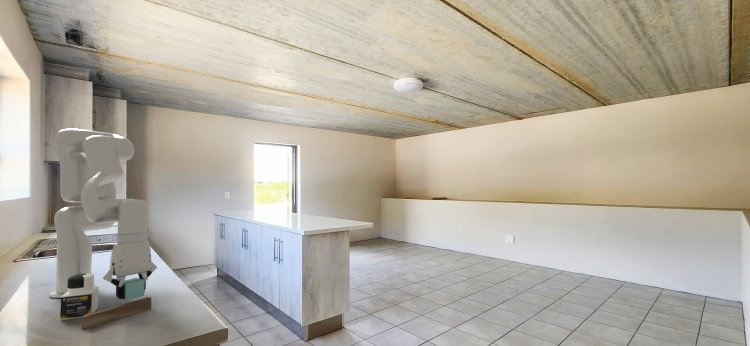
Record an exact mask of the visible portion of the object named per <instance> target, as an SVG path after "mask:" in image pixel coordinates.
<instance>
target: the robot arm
mask: <svg viewBox="0 0 750 346" xmlns="http://www.w3.org/2000/svg"><path fill="white" fill-rule="evenodd" d="M54 150H55V154H56V156H57V159H58V161H59V162H58V163H59V168H60V169H59V170H60V172H59V173H60V174H59V176H60V177H59V179H60V180H59V181H60V182H59V187H60V188H59V189H60V190H59V191H60V197H61V199H62V201H64V202H68V203H81V205H73V206H65V207H63V208H60V209H59V210H57V211H56V212H55V214H54V216H53V218H54V220H53V221H54V228H55V233H56V264H55V266H56V269H55V289H53V290H52V291H50V292H49V295H48V296H49V297H50V298H54V299H59V298H60V299H61V296H62V295H64V294H65V293H66V292H68V291H67V283H68V278H69V277H71V276H74V275H77V274H84V273H90V274H92V261H93V259H92V258H93V257H92V256H93V243H92V240H91V238H90V237H89V236H88V235H86V233H85V232H87V231H88V232H89V231H96V230H98V231H99V230H105V229H106V230H107V229H109V228H112V227H113V226H114V225H115V223H117V240H116V241H117V243H115V244H113V248H112V251H111V254H110V255H111V256H110V261H109V270H107V272H106V273H105V274H104V275H103V277H102V279H103V280H104V281H107V282H108V283H111V284H112V285H114V286H115V297H116V299H119V300H123V299H124V298H125V286H123V284H124V281H125V280H126V277H127V276H133V275H137V276H138V278H139V279H143V280H145V281H144V294H145V293H146V289H147V288H146V287H147V286H146V285H147V281H148V279H149V277H150V276H151V275H152V274H153V273H154V272H155V271H156V270H157V269H158V266H157V265H156V264H155V263H154V261H152V251H151V245H150V241H149V240H148V238H149V237H151V236H152V234H151V232H148V203H147V200H144V199H135V198H117V191H116V186H115V185H116V184H115V183H114V182H115V181H117V180H119V179H120V178H121V177H122V176H124V169H123V166H122V164H121V161H130V160H131V159H132V158H133V157H134V155H135V146H134V144H133V142H132V141H131V140H130V139H129V138H127V137H124V136H120V135H118V134H116V133H112V132H111V133H110V132H102V131H97V130H89V129H82V128H81V129H79V128H66V129H65V128H64V129H61V130H59V131H57V133H56V135H55V137H54ZM83 153H84V154H83ZM84 155H85V156H84ZM115 276H116V277H115ZM113 277H115V278H113ZM96 286H97V285H96V284H94V286H93V287H96Z"/></svg>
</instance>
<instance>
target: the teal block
mask: <svg viewBox="0 0 750 346" xmlns="http://www.w3.org/2000/svg"><path fill="white" fill-rule="evenodd" d="M144 281H145V280H143V279H139V277H134V278H128V279H125V281H124V284H123V286H125V298H124V299H122V300H124V301H130V300H133V299H137V298H140V297H145V293H144Z"/></svg>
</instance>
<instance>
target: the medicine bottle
mask: <svg viewBox="0 0 750 346" xmlns="http://www.w3.org/2000/svg"><path fill="white" fill-rule="evenodd" d="M94 285H95V275H94V273H91V274H90V273H84V274H77V275H74V276H71V277H69V278H68V283H67V291H68V292H66V293H65V294H64V295H62V296H61V298H60V312H59V313H60V314H59V321H65V320H75V319H82V316H84V315H87V314H91V313H94V312H97V310H98V309H99V293H100V292H99V290H100V287H99V286H97V285H96V287H93V286H94Z"/></svg>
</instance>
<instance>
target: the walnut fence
mask: <svg viewBox="0 0 750 346" xmlns="http://www.w3.org/2000/svg"><path fill="white" fill-rule="evenodd" d="M151 309H152V297H150V296H146V297H143V298H140V299H139V298H138V299H136V300H134V301H133V300H132V301H129V302H126V303H123V304H119V305H115V306H112V307H109V308H105V309H101V310H98V311H95V312H94V313H91V314H87V315H84V316H82V317H81V329H82V330H84V331H86V330H88V329H92V328H94V327H98V326H101V325H103V324H107V323H111V322H113V321H117V320H119V319H123V318H126V317H129V316H132V315H136V314H138V313H142V312H145V311H148V310H151Z"/></svg>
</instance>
